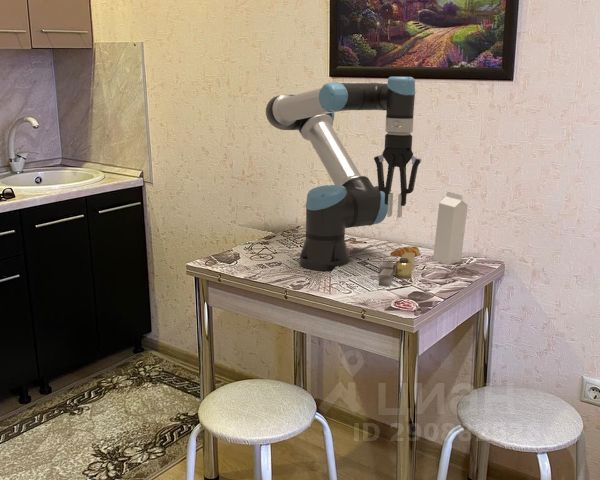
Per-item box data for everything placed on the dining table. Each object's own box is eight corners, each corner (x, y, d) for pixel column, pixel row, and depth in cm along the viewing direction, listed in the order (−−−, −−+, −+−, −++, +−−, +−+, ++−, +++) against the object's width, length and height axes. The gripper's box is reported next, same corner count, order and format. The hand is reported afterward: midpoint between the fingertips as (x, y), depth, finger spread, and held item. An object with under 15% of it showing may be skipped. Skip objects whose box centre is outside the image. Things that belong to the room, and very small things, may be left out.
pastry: (395, 262, 204) (396, 250, 203) (385, 257, 210) (386, 245, 209) (422, 260, 207) (423, 248, 206) (411, 255, 213) (412, 243, 212)
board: (365, 289, 177) (366, 267, 175) (382, 266, 199) (383, 246, 197) (430, 297, 172) (431, 274, 170) (439, 272, 194) (441, 251, 192)
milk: (447, 268, 198) (455, 196, 191) (432, 262, 202) (439, 192, 196) (460, 265, 201) (469, 194, 195) (445, 259, 206) (453, 190, 200)
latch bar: (409, 279, 182) (410, 265, 181) (393, 277, 184) (394, 263, 183) (416, 266, 195) (417, 253, 194) (401, 264, 196) (402, 251, 195)
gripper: (368, 133, 183) (365, 216, 189) (423, 135, 178) (418, 221, 184) (375, 131, 190) (372, 211, 196) (428, 133, 185) (423, 216, 191)
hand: (394, 216), depth 190 cm, fingers open, 2 cm apart
